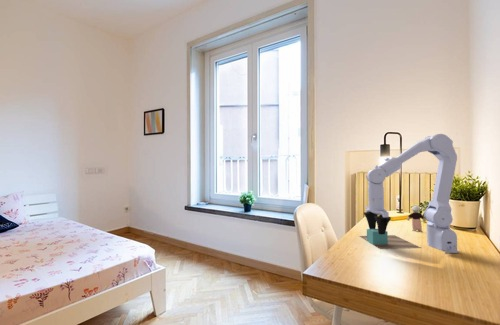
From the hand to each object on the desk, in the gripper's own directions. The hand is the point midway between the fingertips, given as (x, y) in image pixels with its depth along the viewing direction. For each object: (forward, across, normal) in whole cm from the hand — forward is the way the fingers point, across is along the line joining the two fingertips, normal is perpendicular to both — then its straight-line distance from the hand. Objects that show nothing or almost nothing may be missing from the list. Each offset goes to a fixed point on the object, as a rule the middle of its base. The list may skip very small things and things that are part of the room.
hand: (377, 231), depth 107 cm
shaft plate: (+6, -1, +5) cm, 8 cm away
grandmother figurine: (+6, -19, +29) cm, 35 cm away
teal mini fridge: (+4, 0, 0) cm, 4 cm away
